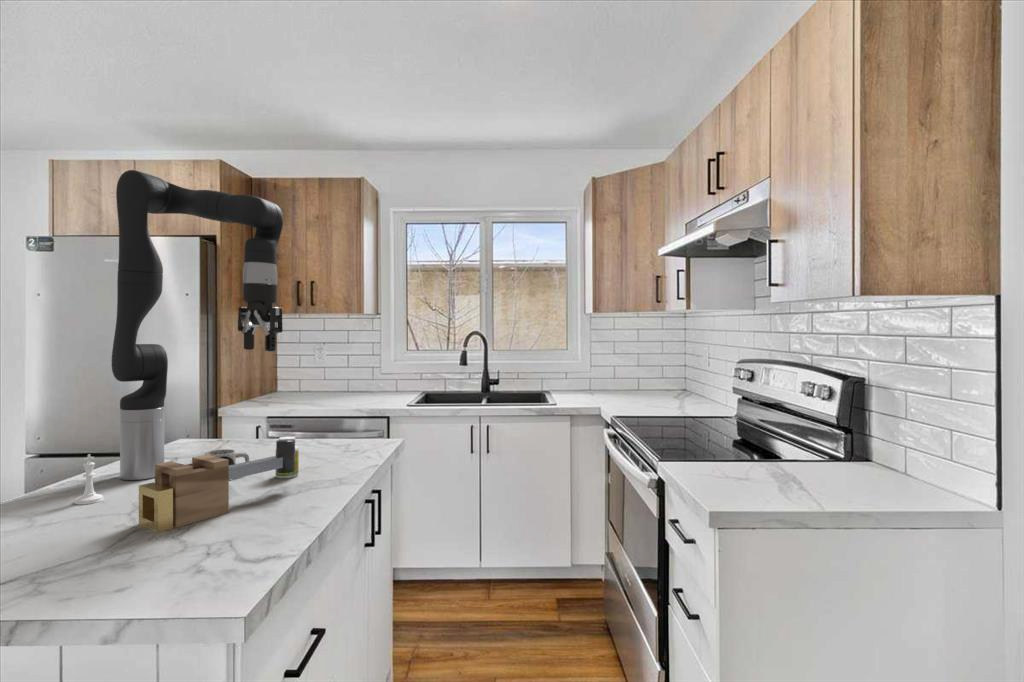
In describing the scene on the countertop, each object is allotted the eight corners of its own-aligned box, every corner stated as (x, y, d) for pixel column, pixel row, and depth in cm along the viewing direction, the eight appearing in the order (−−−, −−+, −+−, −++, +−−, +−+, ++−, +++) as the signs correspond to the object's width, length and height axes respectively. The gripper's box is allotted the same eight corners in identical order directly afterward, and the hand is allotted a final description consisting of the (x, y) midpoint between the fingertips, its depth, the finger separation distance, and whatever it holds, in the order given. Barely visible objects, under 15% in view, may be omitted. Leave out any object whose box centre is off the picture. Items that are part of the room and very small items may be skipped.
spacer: (138, 524, 102) (138, 485, 102) (153, 520, 105) (153, 482, 104) (158, 532, 99) (158, 491, 98) (173, 528, 101) (172, 488, 101)
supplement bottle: (290, 479, 134) (290, 440, 134) (270, 478, 136) (270, 439, 135) (302, 474, 140) (302, 436, 140) (284, 472, 141) (284, 435, 141)
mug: (207, 483, 130) (207, 456, 130) (202, 478, 135) (202, 451, 135) (252, 477, 136) (252, 451, 136) (246, 471, 142) (246, 446, 141)
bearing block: (154, 519, 105) (154, 464, 105) (206, 505, 114) (206, 454, 113) (176, 527, 101) (176, 470, 101) (228, 512, 109) (228, 459, 109)
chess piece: (105, 501, 116) (105, 454, 116) (76, 506, 113) (76, 458, 113) (100, 496, 120) (100, 451, 120) (72, 501, 116) (72, 454, 116)
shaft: (175, 494, 106) (175, 458, 106) (287, 468, 128) (287, 438, 127) (186, 497, 104) (186, 461, 104) (298, 470, 125) (298, 440, 125)
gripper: (228, 282, 130) (227, 349, 131) (263, 280, 123) (262, 352, 123) (257, 284, 137) (256, 348, 137) (292, 283, 129) (291, 351, 130)
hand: (259, 350), depth 130 cm, fingers open, 8 cm apart
